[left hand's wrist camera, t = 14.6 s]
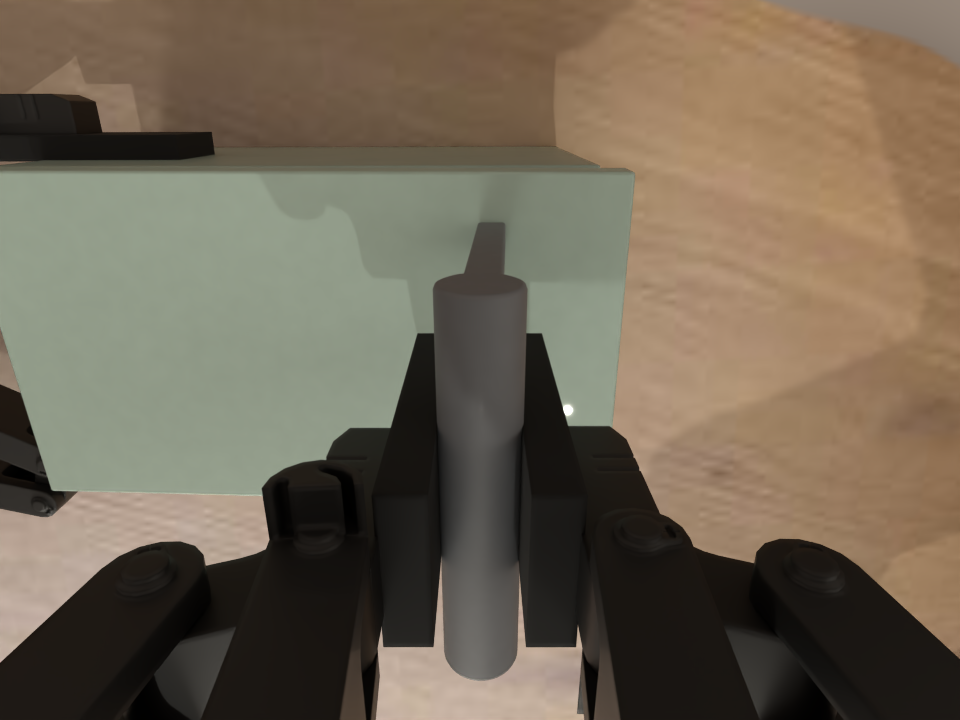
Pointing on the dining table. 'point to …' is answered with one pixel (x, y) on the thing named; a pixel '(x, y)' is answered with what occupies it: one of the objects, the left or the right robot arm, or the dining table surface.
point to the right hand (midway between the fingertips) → (222, 298)
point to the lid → (313, 332)
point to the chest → (354, 158)
